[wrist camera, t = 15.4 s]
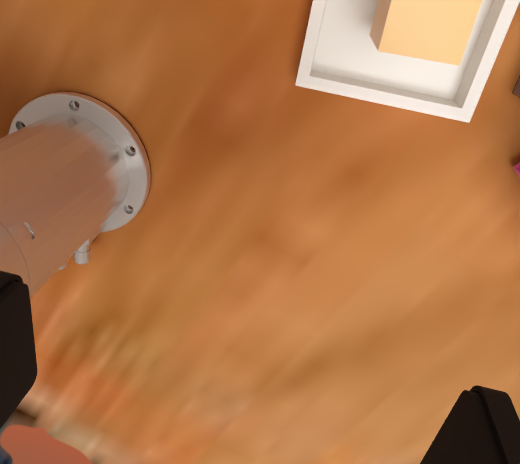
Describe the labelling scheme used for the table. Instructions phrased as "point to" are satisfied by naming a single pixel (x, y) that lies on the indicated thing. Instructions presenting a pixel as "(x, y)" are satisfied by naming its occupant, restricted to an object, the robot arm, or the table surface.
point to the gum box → (517, 169)
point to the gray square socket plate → (517, 88)
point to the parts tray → (398, 60)
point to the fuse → (424, 28)
